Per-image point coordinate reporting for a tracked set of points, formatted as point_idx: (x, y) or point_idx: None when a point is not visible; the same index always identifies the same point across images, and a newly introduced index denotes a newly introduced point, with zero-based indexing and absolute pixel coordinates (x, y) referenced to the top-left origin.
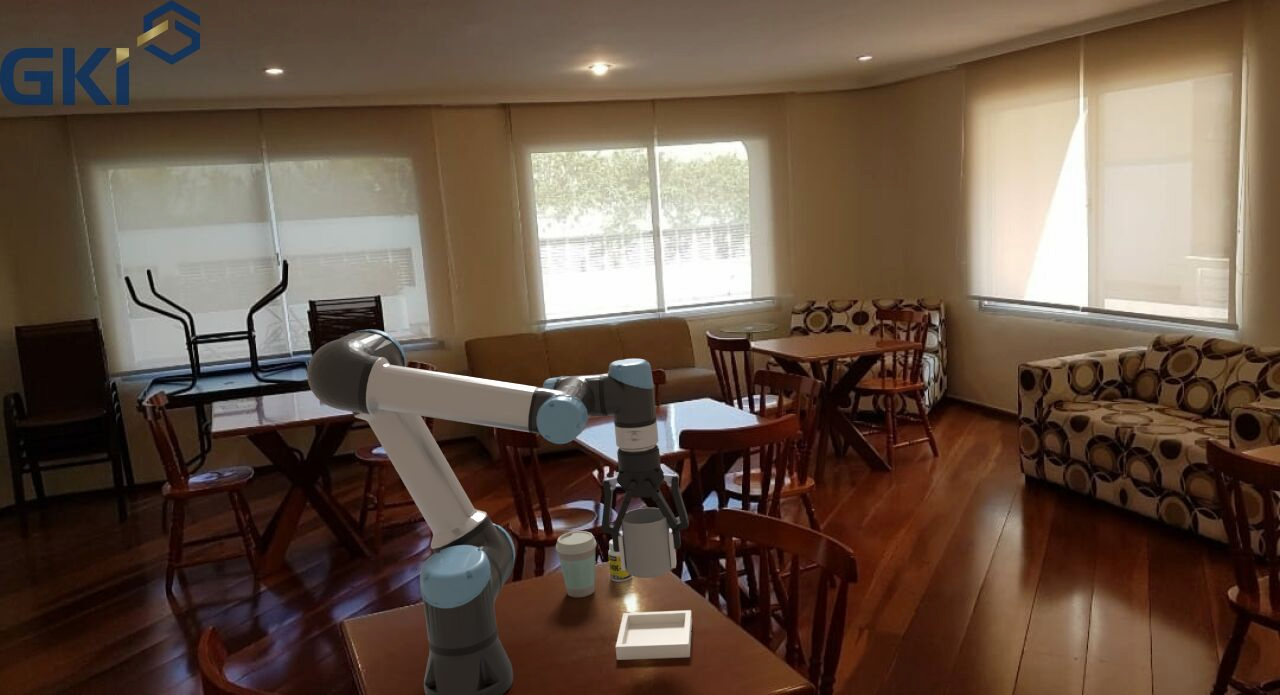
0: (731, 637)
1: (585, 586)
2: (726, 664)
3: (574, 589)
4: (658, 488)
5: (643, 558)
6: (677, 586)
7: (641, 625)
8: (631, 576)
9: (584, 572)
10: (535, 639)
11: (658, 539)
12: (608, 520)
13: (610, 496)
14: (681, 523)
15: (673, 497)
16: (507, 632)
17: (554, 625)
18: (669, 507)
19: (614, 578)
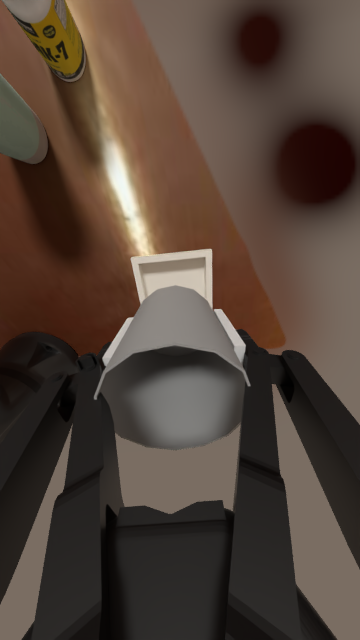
0: (248, 281)
1: (32, 152)
2: (239, 325)
3: (18, 159)
4: (286, 539)
5: (176, 376)
6: (178, 111)
7: (155, 264)
8: (84, 54)
9: (11, 140)
10: (51, 289)
11: (210, 393)
12: (68, 429)
13: (11, 572)
14: (280, 390)
15: (332, 506)
16: (9, 274)
17: (52, 257)
18: (272, 401)
19: (57, 75)
